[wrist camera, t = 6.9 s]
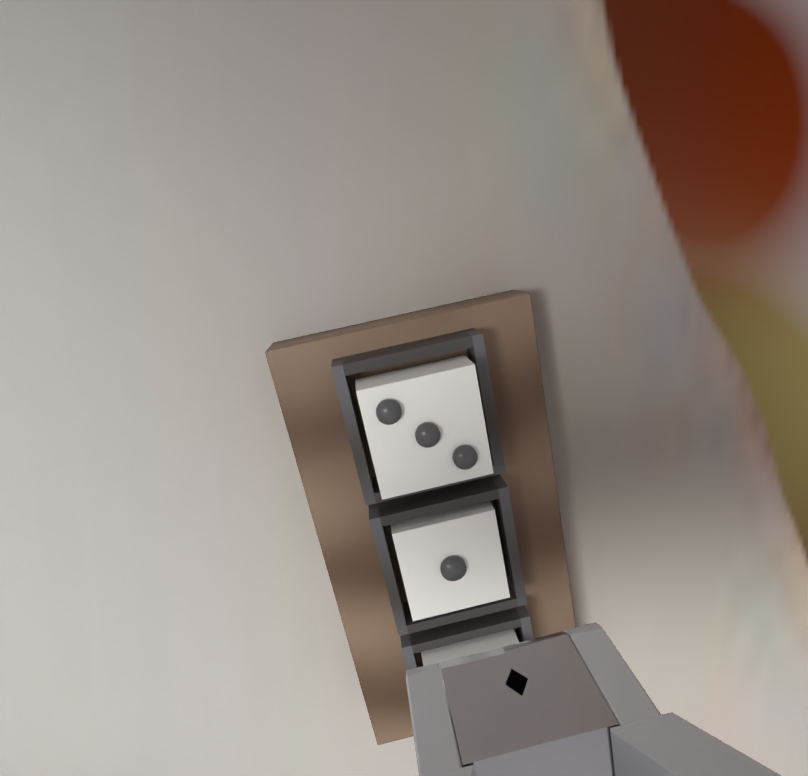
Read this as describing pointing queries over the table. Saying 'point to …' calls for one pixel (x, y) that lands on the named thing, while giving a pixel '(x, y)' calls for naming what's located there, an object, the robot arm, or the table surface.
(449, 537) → the key one
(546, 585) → the key panel
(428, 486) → the key three
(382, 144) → the table surface
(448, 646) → the key two
